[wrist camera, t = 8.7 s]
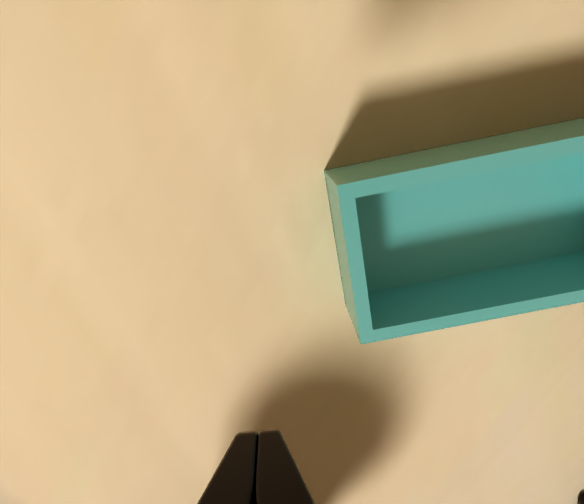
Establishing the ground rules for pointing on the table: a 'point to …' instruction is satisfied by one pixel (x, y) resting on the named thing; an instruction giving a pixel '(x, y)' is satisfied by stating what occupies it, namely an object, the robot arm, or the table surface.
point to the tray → (461, 231)
